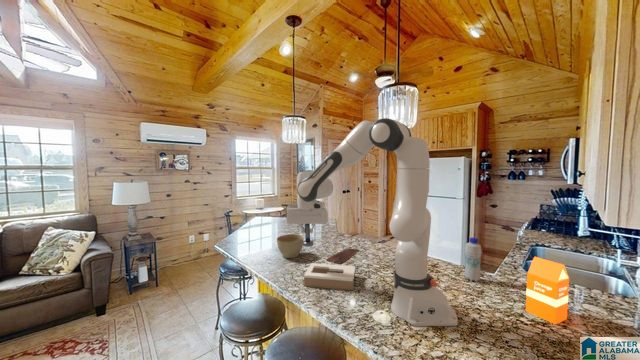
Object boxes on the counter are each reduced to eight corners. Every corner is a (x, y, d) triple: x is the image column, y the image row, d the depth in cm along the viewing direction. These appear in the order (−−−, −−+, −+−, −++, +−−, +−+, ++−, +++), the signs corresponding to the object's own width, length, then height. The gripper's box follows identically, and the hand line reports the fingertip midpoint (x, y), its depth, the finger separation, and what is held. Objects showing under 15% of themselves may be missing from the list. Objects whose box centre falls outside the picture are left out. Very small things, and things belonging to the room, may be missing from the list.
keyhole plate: (355, 276, 122) (355, 266, 122) (353, 290, 109) (353, 279, 108) (311, 272, 127) (311, 263, 127) (304, 285, 113) (304, 275, 113)
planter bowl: (305, 251, 158) (305, 234, 158) (301, 261, 142) (301, 242, 142) (280, 250, 160) (280, 233, 159) (273, 260, 144) (273, 241, 143)
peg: (314, 243, 124) (313, 221, 123) (311, 246, 119) (311, 223, 118) (304, 243, 125) (303, 221, 124) (301, 246, 120) (300, 223, 119)
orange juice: (555, 324, 84) (558, 266, 83) (525, 310, 92) (527, 257, 91) (567, 318, 88) (570, 262, 86) (537, 305, 96) (539, 254, 94)
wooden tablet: (347, 246, 164) (361, 247, 158) (347, 249, 164) (361, 250, 158) (324, 259, 142) (340, 261, 137) (325, 263, 142) (340, 265, 137)
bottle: (482, 279, 118) (483, 237, 116) (479, 284, 113) (480, 240, 111) (466, 275, 122) (467, 234, 121) (462, 279, 117) (463, 237, 116)
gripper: (283, 205, 120) (285, 233, 120) (326, 205, 116) (327, 234, 116) (288, 203, 126) (289, 230, 127) (328, 203, 122) (329, 231, 122)
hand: (307, 232), depth 121 cm, fingers closed on peg, 2 cm apart
